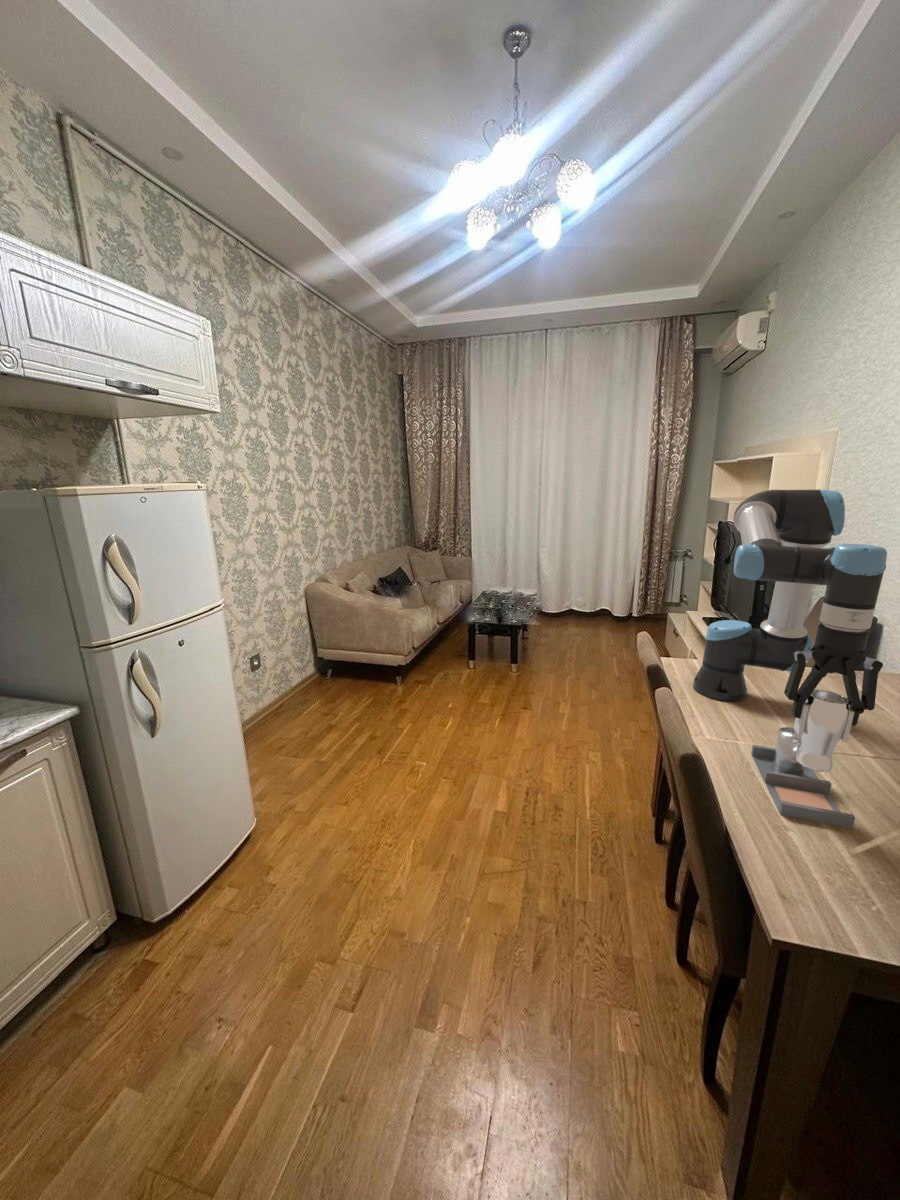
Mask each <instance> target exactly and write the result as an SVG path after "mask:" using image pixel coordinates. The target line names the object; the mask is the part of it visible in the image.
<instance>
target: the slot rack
mask: <svg viewBox="0 0 900 1200" xmlns="http://www.w3.org/2000/svg"><path fill="white" fill-rule="evenodd" d="M751 746H752V748H751V753H750V755H751V756H752V759H753V761H754V762H755V765H756V767H757V770H758V771H759V773H760V776H761V778H762V779H763V782H764V784H765V786H766V788H767V790H768V793H769V794H770V796H771V798H772V800H773V803H774V804H775V806H776V809H777V811H778V813H779V815H781V816H784V817H790V818H795V819H800V820H805V821H810V822H816V823H820V824H826V825H830V826H836V827H840V828H846V829H851V830H853V827H854V824H855V820H856V817H855V815H854V814H852V813H848V812H847V813H846V812H842V811H841V809H840V808H839V806H838V805H837V803H836V802H835V801H834V799H833V798H832V796H831V795H830V792H831V789H832V783H831V781H829V780H825V779H824V780H823V779H820V778H819V777H818V775H817V774H816V772H815V770H812V769H809V768H807V767H806V768H805V773H804V777H802V776H796V775H791V774H785V773H779V772H773V770H772V765H773V760H774V755H775V750H776V747H775V748H774V747H769V746H762V745H756V744H752V745H751Z"/></svg>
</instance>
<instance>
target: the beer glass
mask: <svg viewBox="0 0 900 1200" xmlns="http://www.w3.org/2000/svg"><path fill="white" fill-rule="evenodd" d="M849 702H850V700H849V699H848V698H847V696H845V695H842V694H841V693H837V692H835V691H830V690H827V689H821V688H820V689H817V688H815V689H814V691H813V692H812V693H811V695H810V696H809V698H808V699H807V700H806V702H805V703H806V704H807V705H808V706H809V708H808V713H807V717H806V722H805V727H804V732H803V736H802V741H801V746H800V748H799V751H798V753H797V755H796V760H797V761H798V762H799V763H800V764H801V765H803V766H805V767H807V768H809V769H812V770H813V771H814V772H815V771H816V772H820V773H821V772H822V773H827V772H831V771H833V770H834V769H833V767H834V764H833V763H834V761H833V760H834V753H835V749H836V748H837V745H838V743H839V741H840V740H841V739H840V737H841V735H842V733H843V731H844V729H845V726H846V722H847V717H848V710H849V707H850V705H849Z"/></svg>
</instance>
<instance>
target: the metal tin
mask: <svg viewBox="0 0 900 1200" xmlns="http://www.w3.org/2000/svg"><path fill="white" fill-rule="evenodd" d="M801 741H802V735H798V734H797V732H796V731H795V730H794V727H789V726H788V727H781V728H779V731H778V736H777V740H776V744H775V745H776V746H775V748H776V750H775V755H774V760H773V765H772V770H773V772H779V773H785V774H791V775H796V776H802V777H804V773H805V768H806V767H805V766H803V765H801V764H800V763H799V762H798V761H797V760H796V755H797V753H798V751H799V748H800V746H801Z"/></svg>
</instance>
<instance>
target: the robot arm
mask: <svg viewBox="0 0 900 1200" xmlns="http://www.w3.org/2000/svg"><path fill="white" fill-rule="evenodd" d="M845 517H846V507H845V501H844V497H843V495H842V494H841V493H840V492H839V491H836V490H828V489H768V490H763V491H760V492H757V493H755V494H753V495H751V496H748V497H747V498H746V499H744V500H743V501H742V502H741V503H740V504H739V505H738V506H737V507H736V509H735V511H734V514H733V523H734V527H735V529H736V530H737V532H739V533H740V540H741V544H740V545H739V546H738V547H737V548H736V550H735V554H734V555H735V556H734V563H733V574H734V576H735V577H736V578H737V579H738V578H739V579H746V580H750V581H765V582H766V581H767V582H775V583H774V584H775V585H774V589H773V594H772V598H771V603H770V606H769V612H768V617H767V619H765V620H763V621H761V622H760V625H759V628H753V627H752V624H751V623H749V622H747V621H742V620H736V619H735V620H734V619H725V620H724V619H723V620H717V621H715V622H711V623H710V624H709V625H708V627H707V631H706V635H705V637H704V638H705V644H704V650H703V651H704V652H703V657H702V664H701V667H700V668H699V670H698V671H697V674H696V676H695V677H694V680H693V683H692V688H693V689H694V690H695V691H696V692H697V693H698V694H700V695H703V696H705V697H707V698H710V699H714V700H718V701H723V700H724V701H725V702H739V701H743V700H745V699H746V698H747V695H748V694H747V693H748V688H747V685H746V678H745V674H744V672H745V666H749V667H750V666H752V667H756V668H757V667H758V668H763V669H771V670H776V671H781V672H789V676H788V680H787V682H786V686H785V689H784V691H783V693H784V695H785V696H786V698H787V699H788V700H789V701H793V705H792V708H791V714H792V716H793V717H794V718H795V721H794V725H793V728H794V730H795V731H796V732H797V734H798V735H802V736H803V732H804V727H805V722H806V717H807V713H808V708H809V706H808V705H807V704H806V703H805V702H806V700H807V699H808V698H809V696H810V695H811V693H812V692H813V691H814V689H817V687H818V685H819V684H820V682H821V681H822V679H823V678H825V677H827V675H828V674H838V675H841V676H842V680H843V684H844V688H845V693H846V697H847V698H848V699H849V700H850V702H849V710H848V717H847V722H846V726H845V729H844V731H843V733H842V735H841V737H840V739H839V740H841V741H842V742H844V743H848V742H849V737H850V733H851V728H852V726H853V727H855V726H857V725H858V722H859V718H860V715H861V714H863V713H864V712H865V710H868V711H873V710H875V707H876V697H877V687H878V686H877V685H878V678H879V673H880V671H881V670H882V668H883V666H884V663H883V662H881V661H880V660H879V659H877V658H875V657H868V656H867V655H866V654H865V651H866V649H867V645H868V640H869V636H870V633H869V631H868V630H869V629H870V628H871V627H872V623H873V618H874V615H875V611H876V604H877V601H878V598H879V597H878V596H879V593H880V589H881V586H882V585H881V584H882V582H883V581H882V580H883V577H884V574H885V573H884V572H885V571H886V569H887V563H886V562H887V555H888V552H887V549H886V548H884V547H882V546H879V545H877V546H876V545H873V544H872V545H871V544H863V543H842V544H838V545H836V546H831V547H828V548H824V547H826V546H827V545H829V544H830V543H831V541H832V538H833V536H835V537H836V536H839V535H841V534H842V532H843V529H844V526H845V520H846V519H845ZM813 585H817V586H826V588H825V592H824V597H823V601H822V606H821V611H820V615H819V621H820V624H819V625H818V626H817V629H816V630H817V631H816V636H815V640H814V645H813V640H812V637H811V635H809V634H808V633H809V632H808V629H807V628H806V627H805V626H804V621H805V617H806V613H807V609H808V606H809V605H808V604H809V601H810V597H811V593H812V588H813ZM811 658H812V659H813V661H814V664H813V666H811V671H810V672H809V673H808V675H807V676H806V678H805V679H804V681H803V682H801V681H802V678H803V675H804V673H805V670H806V665H807V663H809V661H810V659H811ZM862 664H863V665H862ZM861 665H862V666H863V668H864V669H863V675H862V686H861V693H859V688H858V684H857V675H856V671H855V669H857V668H858V667H859V666H861ZM801 683H802V684H801ZM860 695H861V696H860Z"/></svg>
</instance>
